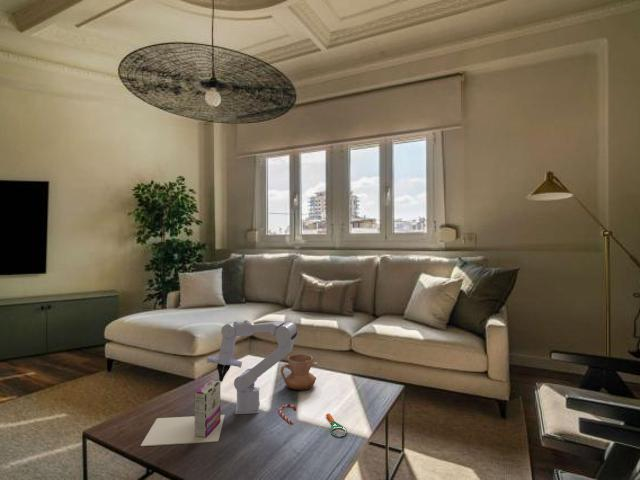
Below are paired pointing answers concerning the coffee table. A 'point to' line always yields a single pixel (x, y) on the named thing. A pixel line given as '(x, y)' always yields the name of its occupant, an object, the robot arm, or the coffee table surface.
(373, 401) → the coffee table surface
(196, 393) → the candy bar box
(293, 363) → the ceramic jug
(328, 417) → the magnifying glass
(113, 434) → the coffee table surface
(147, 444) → the mat
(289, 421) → the candy cane
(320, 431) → the coffee table surface
